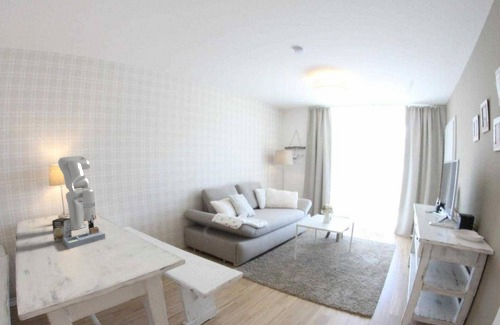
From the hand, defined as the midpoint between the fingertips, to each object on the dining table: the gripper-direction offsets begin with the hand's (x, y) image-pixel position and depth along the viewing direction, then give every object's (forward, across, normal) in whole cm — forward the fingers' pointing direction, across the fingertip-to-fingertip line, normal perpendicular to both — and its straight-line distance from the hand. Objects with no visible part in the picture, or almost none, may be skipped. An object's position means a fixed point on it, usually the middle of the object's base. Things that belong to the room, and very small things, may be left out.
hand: (91, 228), depth 183 cm
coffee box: (+5, -3, -17) cm, 18 cm away
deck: (+5, +10, -7) cm, 13 cm away
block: (+2, +7, 0) cm, 7 cm away
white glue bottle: (+4, -49, +9) cm, 50 cm away
